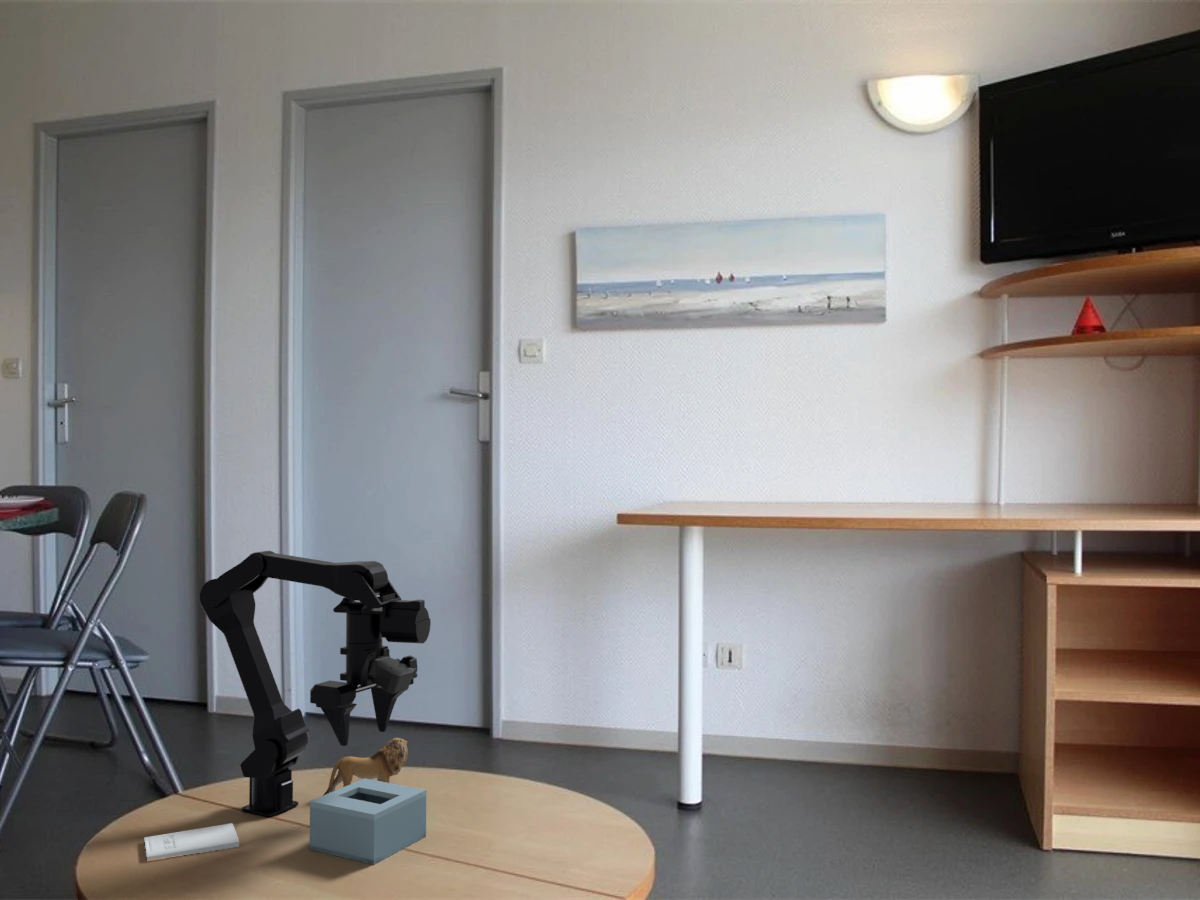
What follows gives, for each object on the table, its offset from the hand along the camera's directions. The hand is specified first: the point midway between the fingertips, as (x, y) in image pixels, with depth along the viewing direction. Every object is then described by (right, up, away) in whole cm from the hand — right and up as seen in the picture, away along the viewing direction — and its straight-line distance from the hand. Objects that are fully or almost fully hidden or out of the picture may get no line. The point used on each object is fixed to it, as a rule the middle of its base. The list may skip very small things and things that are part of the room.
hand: (363, 738), depth 158 cm
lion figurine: (-2, -13, +11) cm, 17 cm away
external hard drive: (-23, -13, -12) cm, 29 cm away
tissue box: (+3, -12, -11) cm, 17 cm away
